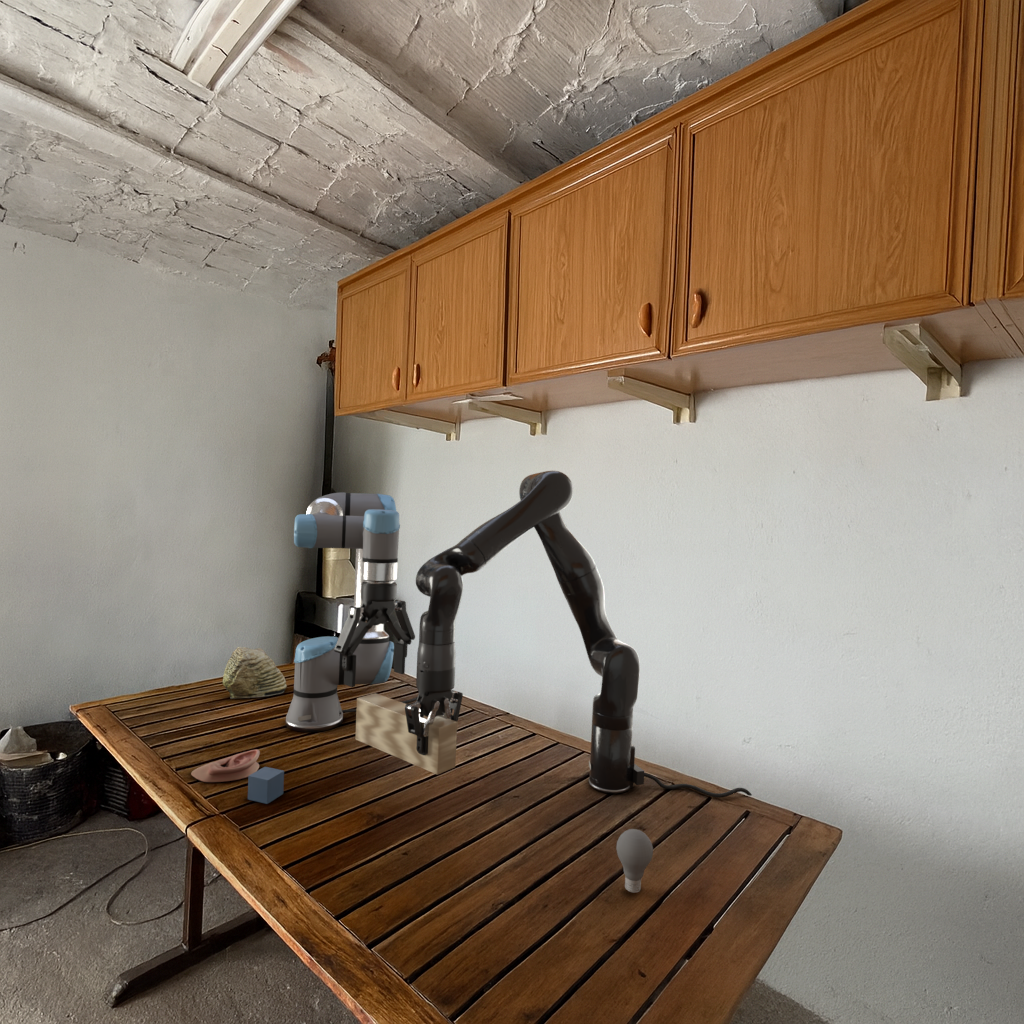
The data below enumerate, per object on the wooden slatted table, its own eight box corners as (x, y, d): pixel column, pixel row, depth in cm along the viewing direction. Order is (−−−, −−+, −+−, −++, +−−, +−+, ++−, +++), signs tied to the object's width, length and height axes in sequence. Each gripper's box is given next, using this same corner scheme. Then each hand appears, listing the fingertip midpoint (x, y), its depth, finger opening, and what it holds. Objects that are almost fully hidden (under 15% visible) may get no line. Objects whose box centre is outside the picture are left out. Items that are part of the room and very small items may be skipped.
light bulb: (610, 879, 108) (613, 822, 108) (644, 879, 109) (647, 822, 109) (619, 902, 102) (622, 840, 102) (655, 901, 103) (658, 840, 103)
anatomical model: (182, 760, 139) (216, 741, 150) (181, 778, 139) (216, 758, 150) (236, 768, 136) (267, 748, 147) (235, 786, 136) (266, 765, 147)
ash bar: (355, 739, 136) (356, 698, 136) (373, 733, 140) (375, 692, 140) (437, 775, 120) (439, 728, 120) (455, 767, 124) (457, 721, 124)
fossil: (218, 695, 195) (220, 647, 195) (278, 685, 208) (279, 640, 207) (228, 703, 189) (230, 653, 188) (289, 692, 201) (290, 645, 201)
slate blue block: (264, 789, 136) (265, 766, 136) (283, 793, 134) (284, 770, 134) (247, 799, 131) (248, 775, 131) (267, 804, 130) (268, 780, 130)
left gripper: (410, 574, 148) (406, 664, 149) (319, 583, 129) (315, 687, 130) (433, 578, 144) (429, 671, 144) (341, 588, 124) (337, 695, 125)
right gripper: (448, 654, 132) (445, 735, 133) (395, 667, 121) (392, 755, 121) (474, 661, 128) (471, 745, 128) (422, 675, 116) (419, 766, 117)
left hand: (375, 678), depth 137 cm, fingers open, 13 cm apart
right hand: (433, 749), depth 125 cm, fingers closed on ash bar, 5 cm apart
